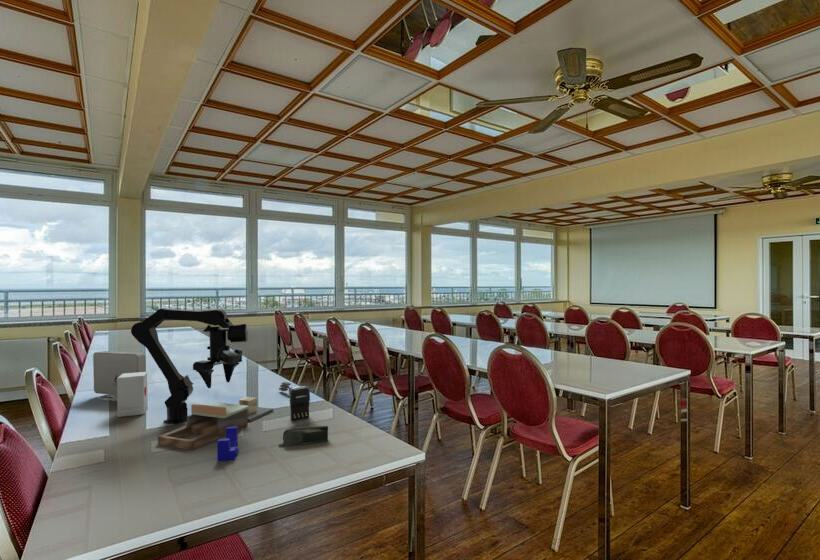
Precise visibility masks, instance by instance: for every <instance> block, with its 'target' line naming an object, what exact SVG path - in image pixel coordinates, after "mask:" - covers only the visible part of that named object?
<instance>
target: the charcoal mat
mask: <svg viewBox="0 0 820 560" xmlns="http://www.w3.org/2000/svg"><path fill="white" fill-rule="evenodd" d="M271 411H273V412H274V408H271V407H262V406H261V407H259V406H257V411H256V412H253V413H251V414H247V422H248V421H249V422H253V421H256V420H257V419H259V418H261V416H262V417H263V415H264V416H266V415H268V414H270V413H269V412H271ZM267 413H268V414H267ZM271 413H272V412H271ZM265 414H266V415H265Z"/></svg>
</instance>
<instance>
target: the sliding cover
mask: <svg viewBox="0 0 820 560" xmlns="http://www.w3.org/2000/svg"><path fill="white" fill-rule="evenodd" d="M190 407H191V411H190V412H191V414H190V415H192V414H193V415H201V416H209V417H217V418H226V417H228V416H231V415H233V414H236V413H238V412H241V411H243V410H246V409H248V408H249V406H246V405H239V404H235V403H227V402H216V403H213V404H210V405H208V404H200V403H199V404H198V403H192V404H191V405H190Z"/></svg>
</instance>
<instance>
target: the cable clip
mask: <svg viewBox="0 0 820 560" xmlns="http://www.w3.org/2000/svg"><path fill="white" fill-rule="evenodd" d="M238 431H239V429H238V426H236V427H227V428H226V435H225V438H217V441H216V443H217V445H216V449H217V462H218V461H221V462H230V460H234V461H235V460H236V459H235V458H237V457H238V454H239V452H240V448H239V447H238V446H239V432H238ZM236 447H237V448H236ZM236 456H237V457H236Z"/></svg>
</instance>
